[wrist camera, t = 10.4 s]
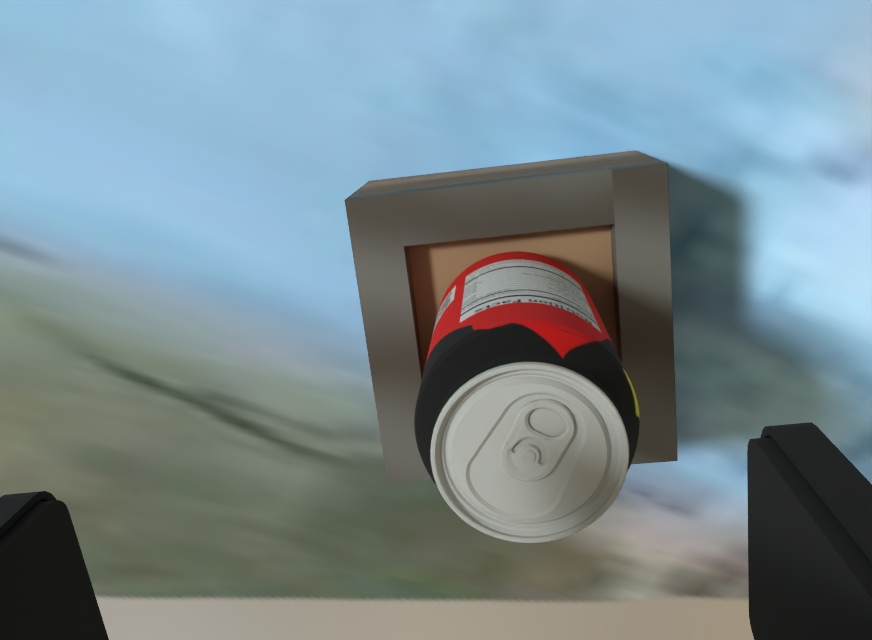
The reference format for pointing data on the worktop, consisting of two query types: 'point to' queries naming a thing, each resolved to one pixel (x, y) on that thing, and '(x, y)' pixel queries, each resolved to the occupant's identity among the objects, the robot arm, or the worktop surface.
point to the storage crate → (506, 232)
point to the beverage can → (524, 401)
